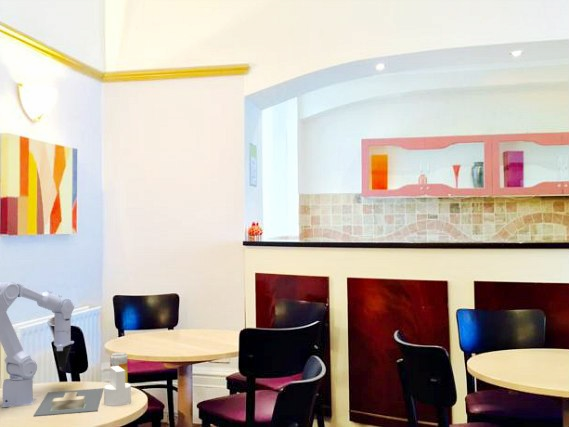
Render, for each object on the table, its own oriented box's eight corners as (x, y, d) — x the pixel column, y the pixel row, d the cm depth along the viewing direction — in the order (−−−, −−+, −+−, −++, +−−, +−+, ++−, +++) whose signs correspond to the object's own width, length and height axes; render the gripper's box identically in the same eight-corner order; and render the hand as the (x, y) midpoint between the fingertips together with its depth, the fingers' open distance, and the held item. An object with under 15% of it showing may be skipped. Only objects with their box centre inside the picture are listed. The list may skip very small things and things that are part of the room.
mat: (33, 416, 187) (33, 415, 187) (48, 393, 214) (47, 392, 214) (97, 411, 192) (97, 410, 192) (103, 389, 219) (103, 388, 219)
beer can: (130, 392, 214) (129, 352, 215) (123, 397, 208) (123, 355, 209) (114, 392, 215) (114, 351, 215) (107, 396, 209) (107, 355, 209)
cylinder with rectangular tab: (134, 404, 199) (133, 369, 200) (108, 408, 195) (107, 373, 195) (126, 398, 207) (126, 364, 207) (101, 402, 202) (101, 368, 203)
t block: (52, 410, 192) (52, 401, 192) (56, 401, 202) (56, 393, 202) (83, 408, 194) (83, 399, 194) (86, 399, 204) (86, 391, 204)
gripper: (71, 333, 211) (71, 370, 210) (76, 326, 225) (76, 361, 225) (50, 334, 209) (50, 371, 209) (56, 327, 223) (56, 362, 223)
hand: (62, 366), depth 217 cm, fingers closed
